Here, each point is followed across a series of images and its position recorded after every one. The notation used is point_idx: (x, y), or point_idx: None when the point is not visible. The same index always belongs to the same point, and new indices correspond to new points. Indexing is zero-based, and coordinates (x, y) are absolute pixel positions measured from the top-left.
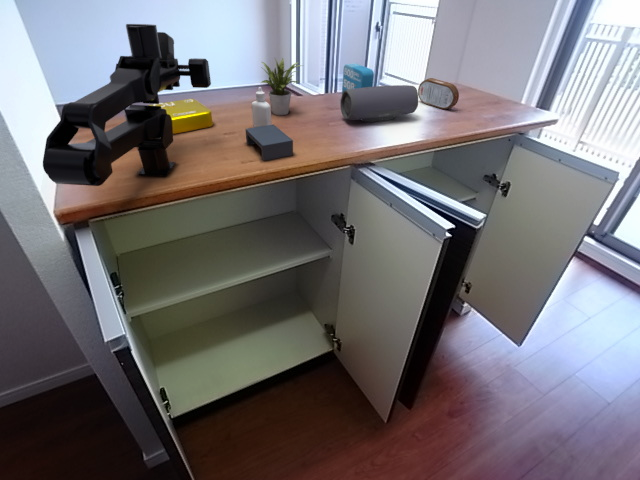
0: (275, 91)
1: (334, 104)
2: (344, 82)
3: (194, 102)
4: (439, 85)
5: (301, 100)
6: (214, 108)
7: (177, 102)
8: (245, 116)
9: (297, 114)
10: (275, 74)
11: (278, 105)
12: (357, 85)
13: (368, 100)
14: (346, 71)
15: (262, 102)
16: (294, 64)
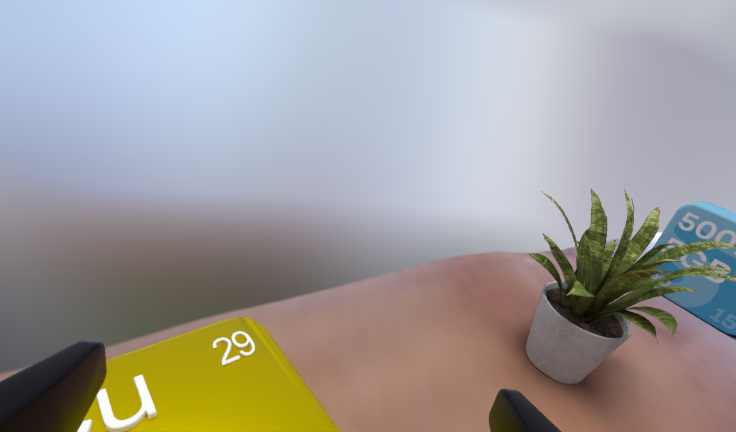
0: (580, 308)
1: (644, 304)
2: (669, 245)
3: (263, 363)
4: None
5: (545, 276)
6: (316, 320)
7: (174, 363)
8: (458, 398)
9: (615, 376)
10: (635, 269)
11: (586, 362)
12: None
13: None
14: (693, 223)
15: None
16: (652, 217)
